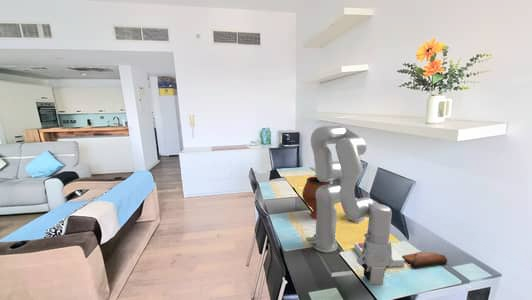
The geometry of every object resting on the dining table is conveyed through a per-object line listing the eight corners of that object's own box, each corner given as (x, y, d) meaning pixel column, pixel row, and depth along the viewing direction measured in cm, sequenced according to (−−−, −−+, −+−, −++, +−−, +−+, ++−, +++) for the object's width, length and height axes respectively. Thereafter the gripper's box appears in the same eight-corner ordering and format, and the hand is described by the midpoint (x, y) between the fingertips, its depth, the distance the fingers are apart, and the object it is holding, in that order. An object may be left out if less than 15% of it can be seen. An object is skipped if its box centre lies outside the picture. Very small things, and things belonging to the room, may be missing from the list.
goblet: (299, 221, 137) (301, 182, 133) (303, 208, 155) (305, 174, 151) (331, 226, 132) (334, 185, 127) (332, 212, 150) (334, 176, 146)
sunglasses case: (429, 252, 108) (438, 245, 103) (440, 267, 103) (450, 260, 98) (398, 256, 104) (405, 250, 100) (408, 272, 99) (416, 266, 94)
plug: (370, 284, 87) (372, 267, 86) (364, 275, 92) (365, 258, 90) (382, 284, 87) (384, 266, 86) (375, 275, 92) (377, 258, 91)
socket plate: (368, 267, 96) (369, 259, 96) (354, 248, 110) (354, 241, 110) (404, 266, 98) (405, 258, 97) (385, 247, 111) (385, 240, 111)
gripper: (361, 242, 82) (357, 286, 85) (405, 241, 83) (399, 284, 86) (352, 231, 89) (348, 272, 92) (392, 230, 91) (388, 270, 94)
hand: (373, 277), depth 89 cm, fingers closed on plug, 5 cm apart
